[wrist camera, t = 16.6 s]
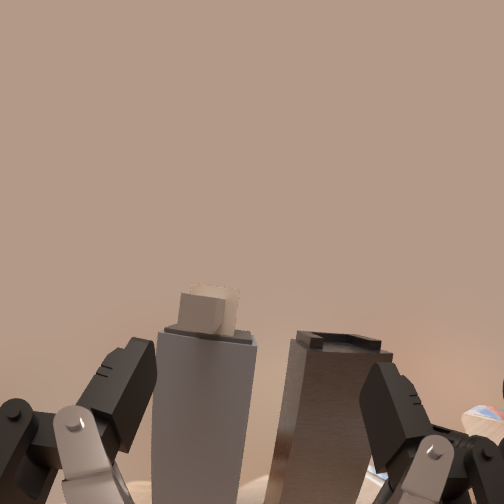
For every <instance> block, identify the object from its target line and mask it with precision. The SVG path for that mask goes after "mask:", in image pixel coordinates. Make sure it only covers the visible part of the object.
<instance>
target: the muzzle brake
mask: <svg viewBox="0 0 504 504" xmlns="http://www.w3.org/2000/svg"><path fill="white" fill-rule="evenodd" d="M431 425H432V428H433V430H434V432H435V434H436V435H440V436H442V437H445V438H446V439H447V440H448V441H449V442H450V443H451V444H452V446H453V447H460V448H471V447H472V446H473V445H474V444H475V443H476V442H477V441H478V440H481V439H488V440H490V439H489V438H487V437H483V436H479V435H472V436H471V437H469V435H468V434H465V433H462V432H458V431H454V430H450V429H447V428H444V427H440V426H436V425H434V424H431Z"/></svg>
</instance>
